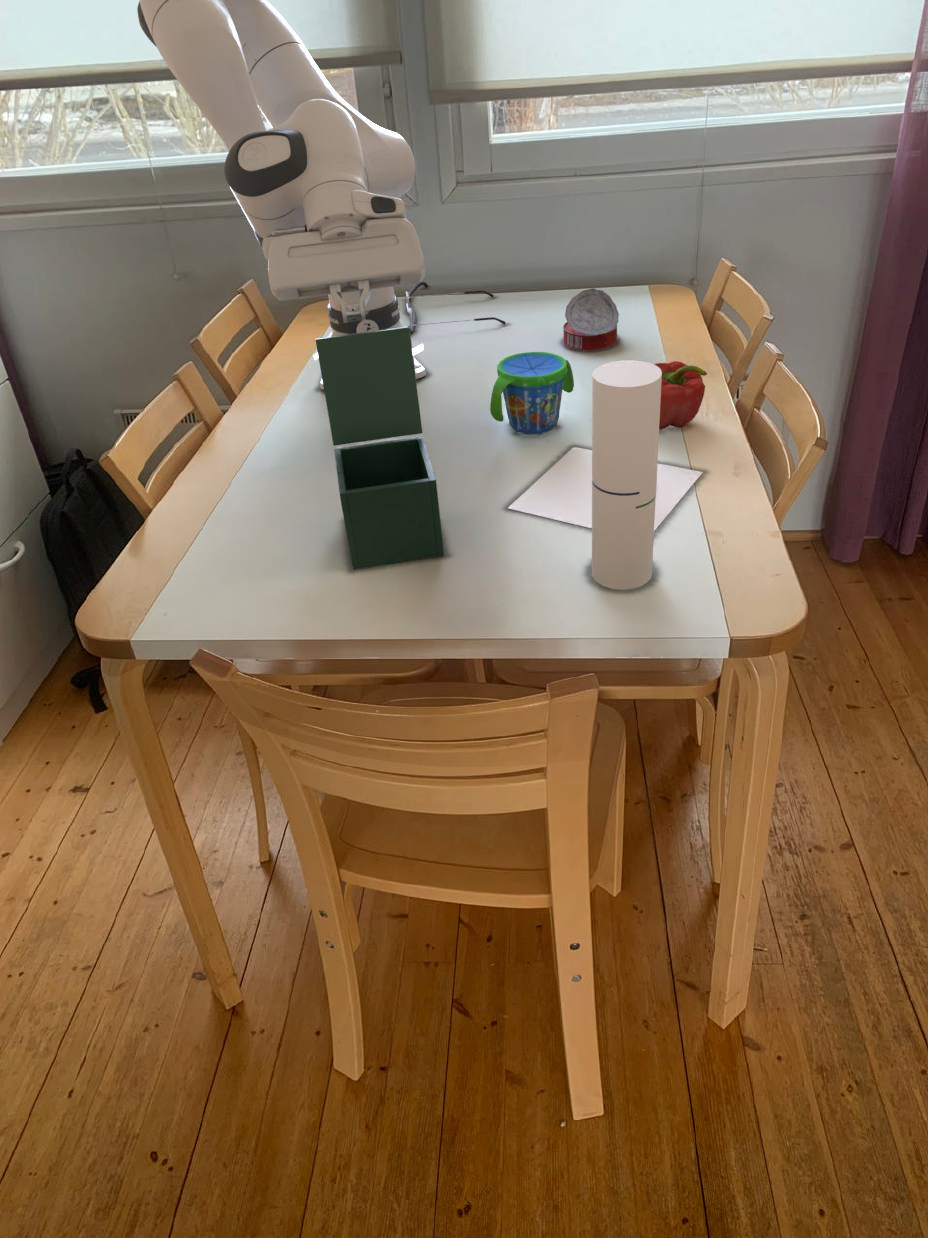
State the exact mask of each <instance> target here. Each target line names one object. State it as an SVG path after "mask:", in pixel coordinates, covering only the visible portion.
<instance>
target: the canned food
mask: <svg viewBox="0 0 928 1238" xmlns="http://www.w3.org/2000/svg"><path fill="white" fill-rule="evenodd" d="M619 315H620V312H619V311H618V308H617V305H616V303H615V302H614V301H613V299H612V297H611V296H610V295H609V294H608V293H607V292H605V291H604V290H602V289H596V288H588V289H584V290H581V291H580V292H578V293H577V294H576V295H574V296H573V297H572V298H570V301H569V302H568V304H567V305H566V307H565V312H564V317H565V320H566V322H565V323H564V324H563V327H562V328H563V331H562V332H563V345H564V347H566V348H568V349H570V350H574V351H578V352H597V351H602V350H607V349H610V348H612V347H613V346H615V345H616V344H617V342H618V323H619V317H620V316H619Z"/></svg>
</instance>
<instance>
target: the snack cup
mask: <svg viewBox="0 0 928 1238" xmlns="http://www.w3.org/2000/svg"><path fill="white" fill-rule="evenodd" d="M496 370H497V371H496V373H497V378H496V380H495V382H494V385H493V387H492V391H491V397H490V405H489V410H490V415H491V416H492V418H493V419H494V420H495V421H498V422H504V415H503V404H502V403H503V402H502V394H503V401H504V406H505V410H506V414H507V419H508V424H509V426H510V427H511V429H512V430H514V432H515V433H517V434H518V433H520V434H525V435H543V434H544V433H547V432H549V431H551V430H553V429H554V428H556V427H557V426H558V421H559V417H560V409H561V405H562V397H563V392H565V393H567V394H568V393H572V392H573V391H574V388H575V381H574V373H573V369H572V366H571V364H570V362H569V360H568V359H565V358H564V357H563V356H561V355H559V354H556V353H551V352H547V351H546V352H545V351H526V352H519V353H515V354H511V355H508V356H506V357H504V358H502V359H501V360H500V361H499V362H498V363H497V365H496Z"/></svg>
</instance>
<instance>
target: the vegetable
mask: <svg viewBox="0 0 928 1238" xmlns="http://www.w3.org/2000/svg"><path fill="white" fill-rule="evenodd" d="M652 364H653V365H656V366H657V367H659V368H660V369H661V371H662V380H661V401H660V421H659V431H660V430H661V431H662V430H664V429H667V428H669V427H670V426H671V427H675V428H682V427H684V426H686V425H688V424H689V423H690V422H692V421H693V419H695V417H696V416H697V415H698V414H699V411H700V408H701V405H702V403H703V401H704V396H705V392H706V391H705V390H706V385H705V383H704V380H703V377H702V376H704V377H705V376H707V375H708V371H706V370H704V369H703V368H701V367H699V366H697V365H688V364H686V363H684V362H682V361H679V360H677V361H670V362H656V363H655V362H654V363H652Z"/></svg>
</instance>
